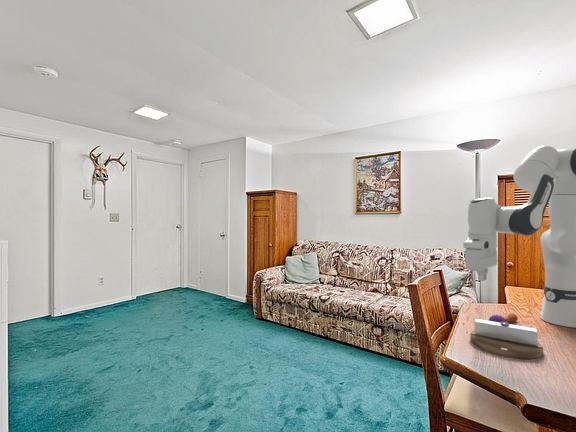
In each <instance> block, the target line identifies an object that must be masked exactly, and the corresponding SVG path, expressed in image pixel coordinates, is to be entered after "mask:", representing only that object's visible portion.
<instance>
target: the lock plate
mask: <svg viewBox="0 0 576 432" xmlns="http://www.w3.org/2000/svg"><path fill="white" fill-rule="evenodd" d="M469 335H470V342H471V344H472V345H473V346H475V347H476V348H477V349H479V350H481V351H483V352H485V353H489V354H492V355H495V356H498V357H502V358H506V359H512V360H520V361H535V360H539V359H542V358H543V356H544V348H543V347H544V346H543V345H542V344H541V343H540V342H538V346H536V345H531V344H526V343H520V342H515V341H509V340H504V339H499V338H493V337H488V336H483V335H477V334H475V330H473V331H471V332H470V334H469Z"/></svg>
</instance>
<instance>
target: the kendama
mask: <svg viewBox="0 0 576 432" xmlns="http://www.w3.org/2000/svg"><path fill="white" fill-rule="evenodd" d="M518 320H519V319H518V316H517V314H515V313H509V314H508V315H507V316H505V317H503V316H502V315H500V314H499V315H498V314H494V315H491V316H489V318H488V321H492V322H499V323H500V322H506V323H513V322H517V321H518Z"/></svg>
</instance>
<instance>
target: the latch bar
mask: <svg viewBox="0 0 576 432" xmlns="http://www.w3.org/2000/svg"><path fill="white" fill-rule="evenodd" d="M537 329H538V328H535V327H529V326H528V327H527V326H524V325H523V326H522V325H516V324H510V322H507V323H506V322H500V323H499V322H492V321H489V320H487V319H486V320H485V319H478V318H475V320H474V331H475V334H477V335H483V336H488V337H493V338H499V339H504V340H509V341H515V342H520V343H526V344H531V345H536V346H538V343H539V342H538V337H539V336H538V330H537Z"/></svg>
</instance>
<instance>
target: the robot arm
mask: <svg viewBox="0 0 576 432" xmlns="http://www.w3.org/2000/svg"><path fill="white" fill-rule="evenodd" d="M512 176H513V178H512V179H513V181H514V183H515V185H516V186H517V187H518V188H519V189H520V190H523V191H525V192H527V193H528V192H529V193H530V195H529V196H528V200H527V202H526V203H525V204H522V205H518V206H502V205H500V204H498V203H497V202H496V201H495V198H493V197H490V196H489V197H480V198H475V199H472V200H471V201H470V202H469V205H468V210H467V223H468V227H469V228H468V231H467V237H466V240H464V242H463V243H462V244H463V246H462V247H463V249H465V250H464V263H465V268H466V270H467V271H471V272H472V271H475V272H476V274H477V279H478V281H481V282H484V281H486V280H487V278H488V277H487V276H488V272H489V268H491V267H496V266H497V264H498V253H497V251H498V250H497V247H498V233H499V234H500V233H501V234H512V235H513V234H515V235H521V236H532V235H534V234H536V232H538V231H539V230H540V229H541V227H543V226H542V225H543V222H544V221H543V220H544V214H545V212H546V209H547V207H548V212H547V213H548V217H549V218H548V219H549V224H550V225H549V226H550V228H549V229H546V231H544V232H543V233H542V234H541V235H540V238H539V241H540V244H541V252H542V257H543V263H544V285H543V295H544V296H543V298H542V303H541V311H540V312H539V317H540V318H539V319H540V320H541V321H545V322H546V323H550V324H553V325H556V326H562V327H568V328H574V329H575V328H576V148H573V147H572V148H561V149H560V148H559V149H556V147H553V146H550V145H540V146H537V147H536V148H534V149H533V150H532V151H530V152H529V153H528V154H527V155H526V156H525V157H524V159H522V160H521V162H520V163H519V164H518V166H517V167H516V169H515V170H514V173H513V175H512Z"/></svg>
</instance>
